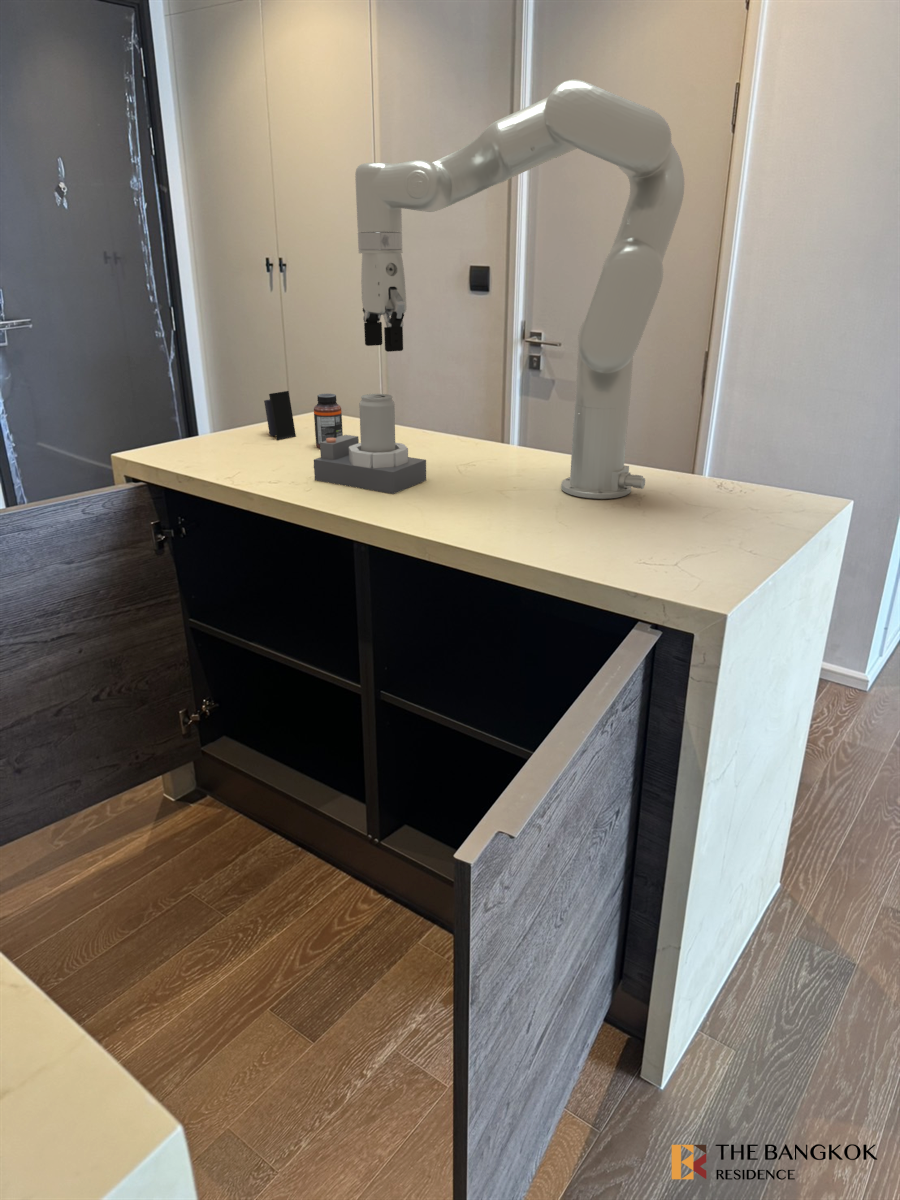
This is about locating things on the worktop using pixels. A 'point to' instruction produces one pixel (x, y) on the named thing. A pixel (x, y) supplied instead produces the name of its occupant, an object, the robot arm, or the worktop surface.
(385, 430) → the beverage can
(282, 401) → the speaker
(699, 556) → the worktop surface
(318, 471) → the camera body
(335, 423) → the supplement bottle
